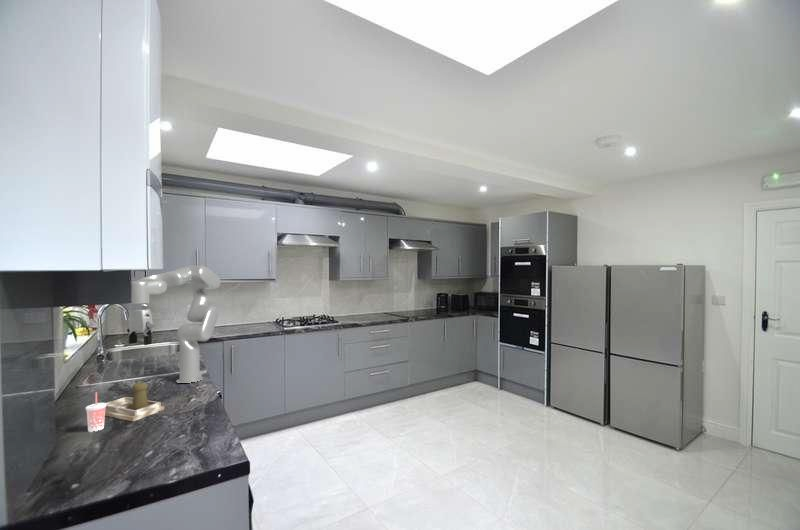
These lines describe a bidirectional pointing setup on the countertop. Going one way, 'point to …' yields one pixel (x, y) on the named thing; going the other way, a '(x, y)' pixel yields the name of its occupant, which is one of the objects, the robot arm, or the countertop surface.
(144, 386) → the cork
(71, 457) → the countertop surface
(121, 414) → the spice holder
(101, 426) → the beverage cup
